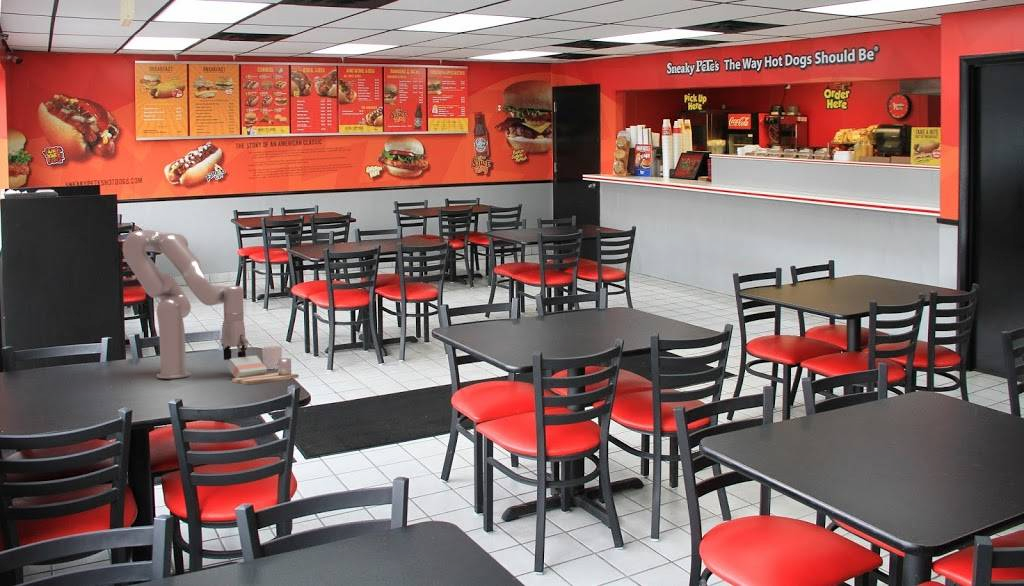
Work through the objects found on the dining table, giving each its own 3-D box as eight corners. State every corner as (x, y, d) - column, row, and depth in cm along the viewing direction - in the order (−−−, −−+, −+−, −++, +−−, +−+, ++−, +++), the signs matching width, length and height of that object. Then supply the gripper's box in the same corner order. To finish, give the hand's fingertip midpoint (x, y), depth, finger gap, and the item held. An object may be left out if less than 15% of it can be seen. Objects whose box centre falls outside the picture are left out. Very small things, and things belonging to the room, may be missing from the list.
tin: (275, 374, 381) (275, 359, 380) (285, 373, 385) (285, 357, 384) (284, 376, 378) (283, 360, 377) (294, 374, 382) (293, 359, 381)
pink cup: (264, 370, 404) (263, 346, 404) (283, 369, 405) (283, 345, 405) (261, 372, 397) (260, 348, 396) (281, 372, 397) (280, 347, 397)
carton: (226, 366, 380) (229, 358, 378) (253, 363, 389) (256, 355, 387) (237, 380, 375) (240, 372, 374) (264, 376, 384) (267, 368, 383)
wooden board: (232, 381, 373) (231, 378, 373) (280, 375, 389) (280, 372, 389) (250, 384, 365) (250, 381, 365) (298, 377, 381) (298, 374, 381)
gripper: (212, 316, 388) (213, 359, 390) (238, 319, 377) (239, 363, 378) (229, 315, 394) (230, 357, 395) (254, 317, 383) (255, 361, 384)
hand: (234, 360), depth 387 cm, fingers open, 9 cm apart
